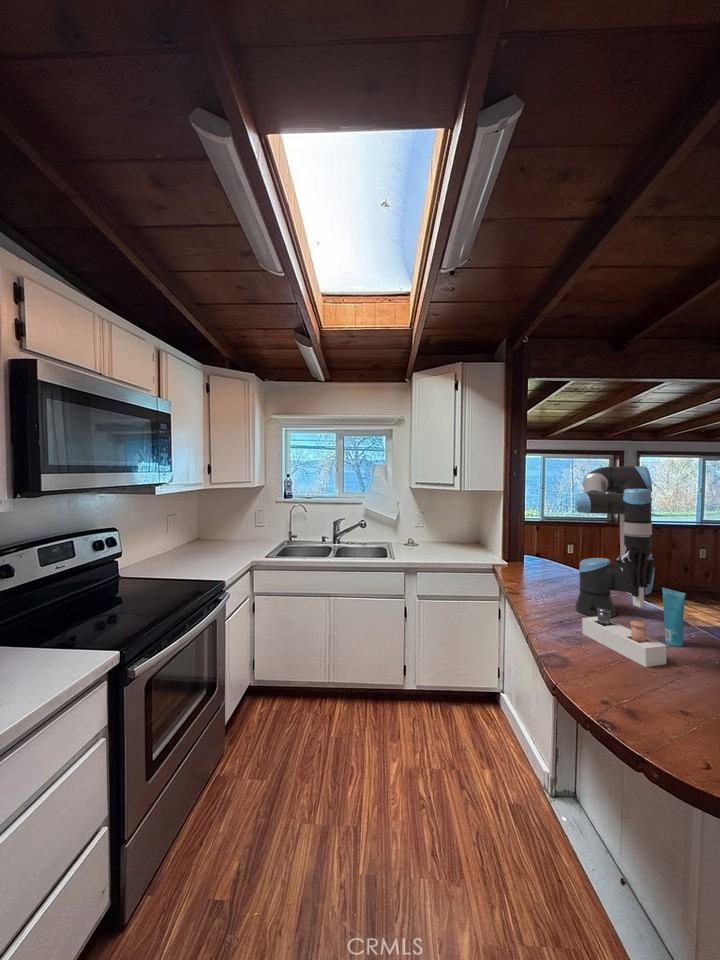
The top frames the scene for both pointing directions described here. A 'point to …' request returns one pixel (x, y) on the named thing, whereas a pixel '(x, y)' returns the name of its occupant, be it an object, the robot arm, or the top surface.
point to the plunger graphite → (604, 616)
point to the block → (625, 642)
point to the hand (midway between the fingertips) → (638, 605)
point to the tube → (673, 616)
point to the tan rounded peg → (638, 631)
